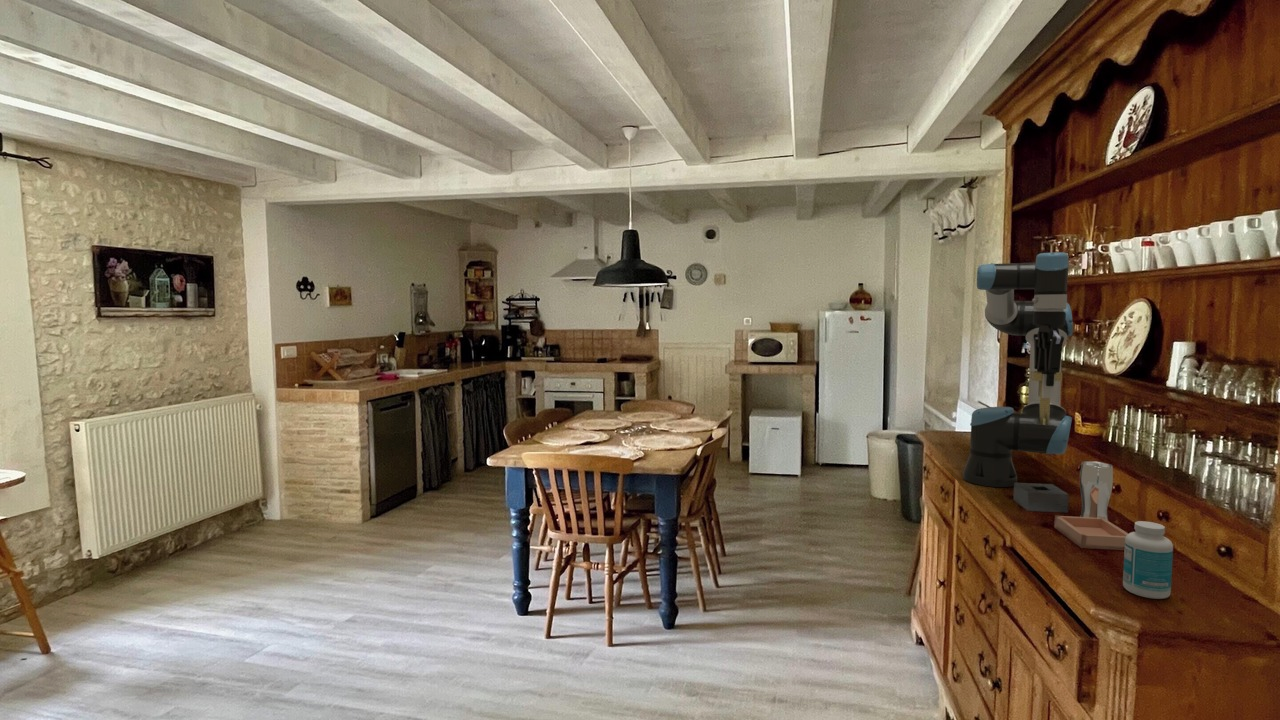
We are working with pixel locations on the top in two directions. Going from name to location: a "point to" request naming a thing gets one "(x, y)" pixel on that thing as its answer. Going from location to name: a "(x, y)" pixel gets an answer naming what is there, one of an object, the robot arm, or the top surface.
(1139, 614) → the top surface
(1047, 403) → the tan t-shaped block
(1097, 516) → the beer glass
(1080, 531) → the pale pink tray
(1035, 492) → the grey square block
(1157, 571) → the pill bottle
